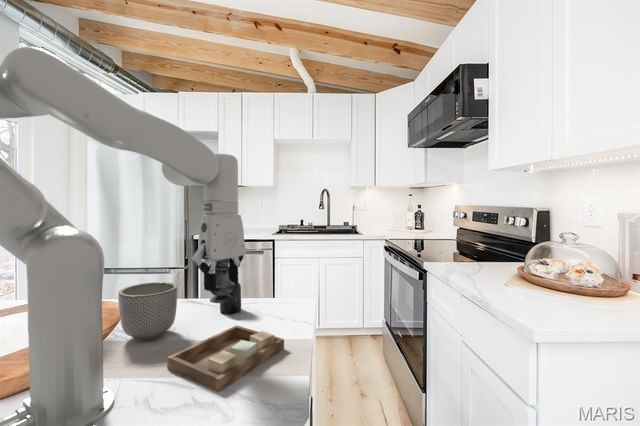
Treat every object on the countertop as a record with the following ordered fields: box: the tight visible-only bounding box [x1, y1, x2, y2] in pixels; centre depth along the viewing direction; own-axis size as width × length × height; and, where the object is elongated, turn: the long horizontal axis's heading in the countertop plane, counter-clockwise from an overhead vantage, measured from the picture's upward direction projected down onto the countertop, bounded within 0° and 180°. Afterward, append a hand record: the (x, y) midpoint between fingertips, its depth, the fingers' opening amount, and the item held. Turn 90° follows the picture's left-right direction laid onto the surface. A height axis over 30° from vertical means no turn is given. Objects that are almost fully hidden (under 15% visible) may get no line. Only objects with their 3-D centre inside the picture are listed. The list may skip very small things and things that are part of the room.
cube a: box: [208, 351, 237, 375], centre depth 63 cm, size 4×4×4 cm
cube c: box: [250, 330, 275, 352], centre depth 74 cm, size 4×4×4 cm
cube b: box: [231, 340, 257, 364], centre depth 68 cm, size 4×4×4 cm
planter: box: [117, 281, 179, 343], centre depth 83 cm, size 14×14×13 cm
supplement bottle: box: [219, 282, 242, 315], centre depth 103 cm, size 7×7×12 cm
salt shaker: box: [209, 259, 235, 304], centre depth 71 cm, size 6×6×12 cm
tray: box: [166, 324, 285, 393], centre depth 71 cm, size 20×16×3 cm
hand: (221, 286), depth 72 cm, fingers closed on salt shaker, 5 cm apart
